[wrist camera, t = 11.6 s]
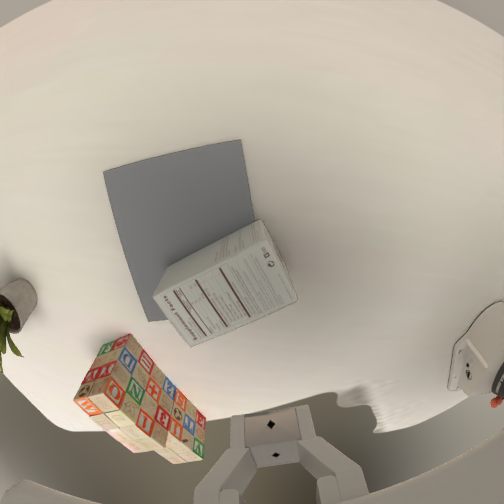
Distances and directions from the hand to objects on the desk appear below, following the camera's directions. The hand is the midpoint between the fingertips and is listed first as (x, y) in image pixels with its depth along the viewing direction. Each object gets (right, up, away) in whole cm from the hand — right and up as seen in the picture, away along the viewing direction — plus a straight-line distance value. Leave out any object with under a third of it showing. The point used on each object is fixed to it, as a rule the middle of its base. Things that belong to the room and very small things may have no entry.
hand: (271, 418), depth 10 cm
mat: (-8, +8, +23) cm, 26 cm away
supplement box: (+2, +6, +20) cm, 21 cm away
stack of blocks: (-16, -15, +32) cm, 39 cm away
